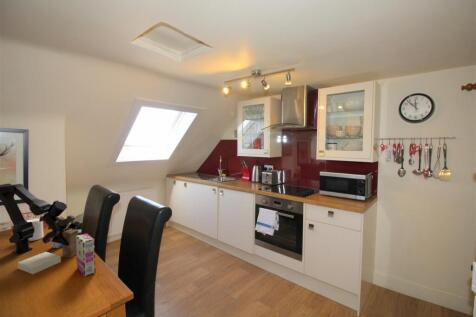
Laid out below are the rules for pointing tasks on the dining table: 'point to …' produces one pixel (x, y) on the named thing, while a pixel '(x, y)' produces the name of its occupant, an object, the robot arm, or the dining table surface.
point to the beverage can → (36, 229)
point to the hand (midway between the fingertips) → (72, 243)
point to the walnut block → (70, 243)
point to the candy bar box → (85, 254)
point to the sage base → (39, 262)
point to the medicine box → (56, 244)
